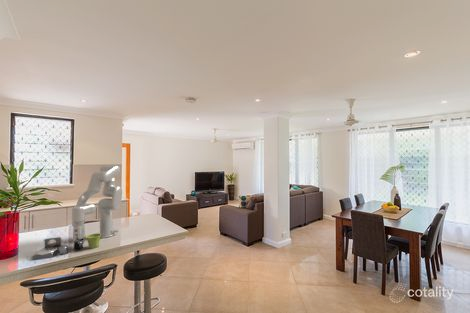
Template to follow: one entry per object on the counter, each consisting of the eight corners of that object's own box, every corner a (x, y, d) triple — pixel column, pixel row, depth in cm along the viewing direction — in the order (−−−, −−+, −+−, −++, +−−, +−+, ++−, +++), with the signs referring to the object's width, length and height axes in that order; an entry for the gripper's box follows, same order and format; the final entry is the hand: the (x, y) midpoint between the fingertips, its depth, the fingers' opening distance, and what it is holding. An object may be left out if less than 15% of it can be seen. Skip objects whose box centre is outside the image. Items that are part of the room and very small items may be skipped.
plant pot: (86, 246, 160) (86, 235, 160) (101, 243, 165) (100, 232, 165) (86, 251, 152) (86, 238, 152) (101, 247, 158) (101, 235, 158)
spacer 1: (69, 251, 152) (69, 244, 152) (66, 254, 147) (66, 247, 147) (60, 252, 150) (60, 245, 150) (57, 255, 145) (57, 248, 145)
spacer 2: (84, 246, 161) (84, 239, 161) (81, 249, 156) (81, 242, 156) (76, 247, 159) (76, 240, 159) (73, 250, 154) (73, 243, 154)
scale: (44, 250, 154) (44, 238, 154) (63, 248, 158) (62, 236, 158) (32, 260, 140) (32, 247, 140) (52, 257, 143) (52, 244, 143)
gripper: (80, 226, 150) (80, 251, 150) (88, 219, 167) (88, 241, 167) (67, 227, 148) (67, 252, 148) (77, 220, 165) (77, 243, 164)
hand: (78, 246), depth 157 cm, fingers open, 7 cm apart
